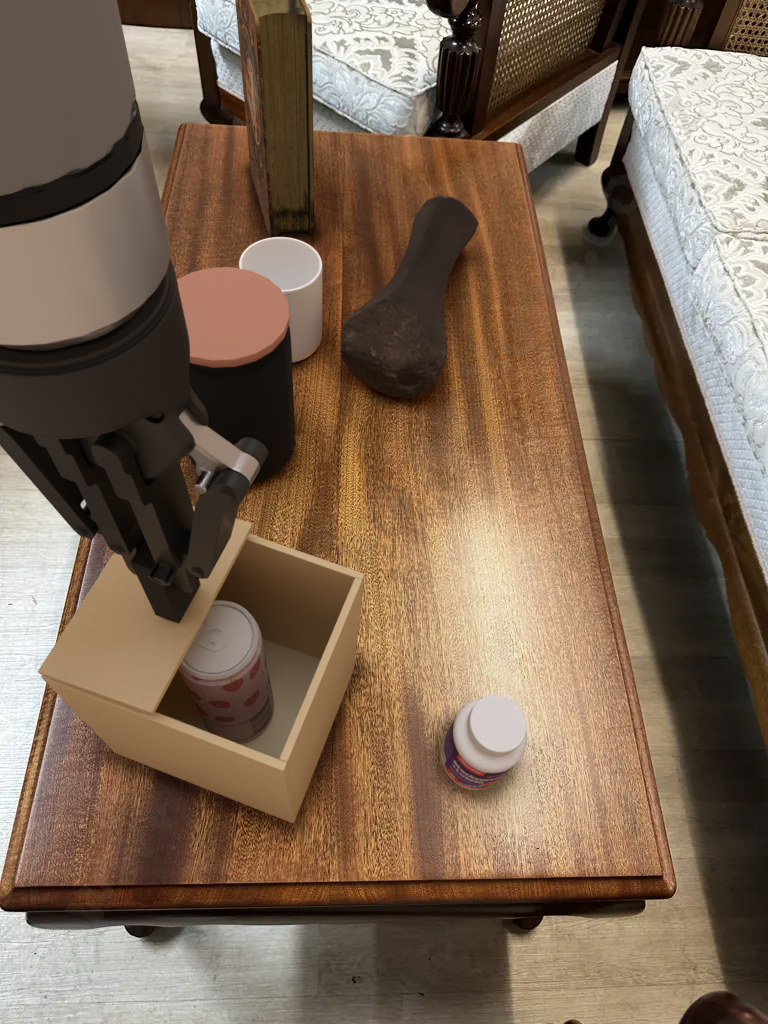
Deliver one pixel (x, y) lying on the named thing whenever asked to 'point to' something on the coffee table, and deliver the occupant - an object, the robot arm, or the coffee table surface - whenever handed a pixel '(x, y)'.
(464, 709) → the pill bottle
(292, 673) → the carton
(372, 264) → the coffee table surface
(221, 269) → the coffee jar
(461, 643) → the coffee table surface
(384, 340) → the dark brown bone
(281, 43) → the book
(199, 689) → the beverage can
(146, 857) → the coffee table surface
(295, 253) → the mug
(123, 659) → the flap
